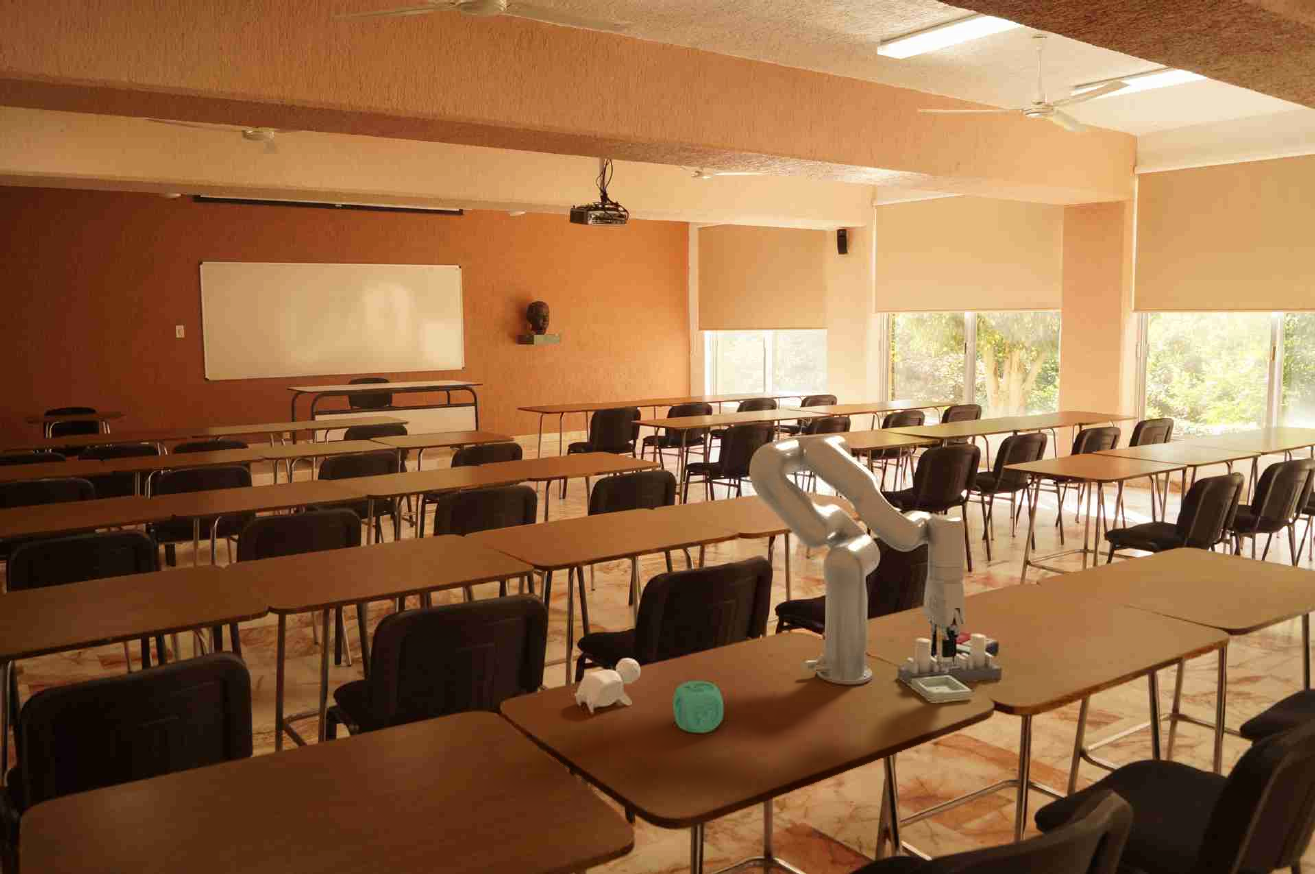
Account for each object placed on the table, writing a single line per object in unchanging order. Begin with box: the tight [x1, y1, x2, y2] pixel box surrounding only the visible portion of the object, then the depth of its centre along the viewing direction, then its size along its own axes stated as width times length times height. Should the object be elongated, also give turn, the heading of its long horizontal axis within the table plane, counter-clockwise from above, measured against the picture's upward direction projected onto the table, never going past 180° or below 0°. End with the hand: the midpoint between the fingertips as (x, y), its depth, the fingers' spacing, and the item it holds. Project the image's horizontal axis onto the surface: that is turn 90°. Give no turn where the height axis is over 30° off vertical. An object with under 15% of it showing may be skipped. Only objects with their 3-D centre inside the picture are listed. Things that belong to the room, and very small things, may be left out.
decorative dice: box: [672, 680, 724, 734], centre depth 199 cm, size 8×8×8 cm
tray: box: [910, 675, 973, 702], centre depth 216 cm, size 9×9×2 cm
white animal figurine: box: [573, 657, 641, 714], centre depth 211 cm, size 9×8×15 cm
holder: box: [897, 633, 1003, 685], centre depth 225 cm, size 23×6×10 cm, turn 104°
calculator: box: [931, 632, 1000, 662], centre depth 241 cm, size 11×4×15 cm
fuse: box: [937, 623, 953, 668], centre depth 214 cm, size 3×3×10 cm
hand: (944, 653), depth 215 cm, fingers closed on fuse, 3 cm apart
